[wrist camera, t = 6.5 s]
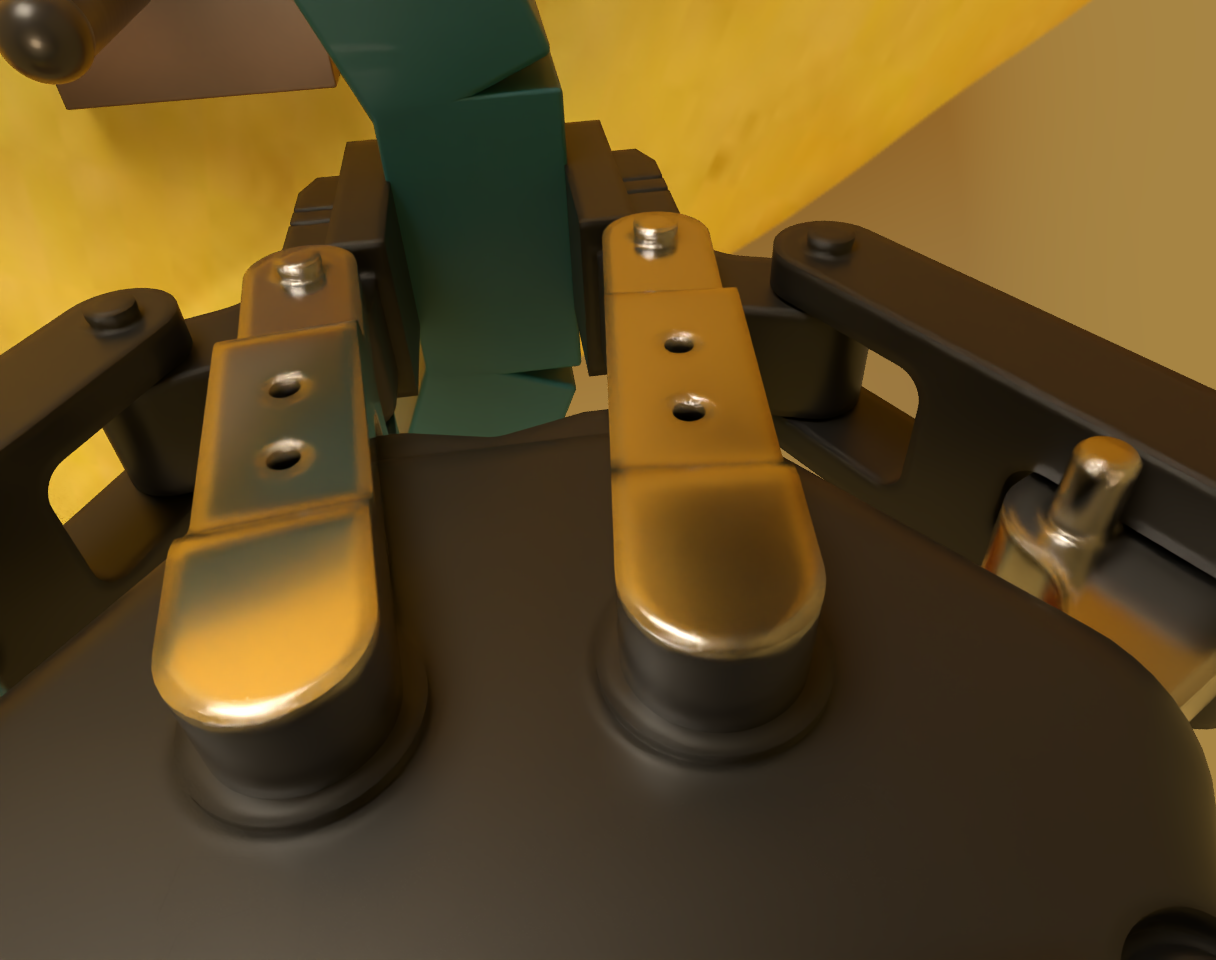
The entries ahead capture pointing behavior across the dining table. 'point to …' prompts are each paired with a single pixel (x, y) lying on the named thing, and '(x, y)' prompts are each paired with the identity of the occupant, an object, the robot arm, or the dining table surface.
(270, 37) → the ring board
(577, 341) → the ring
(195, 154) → the dining table surface
